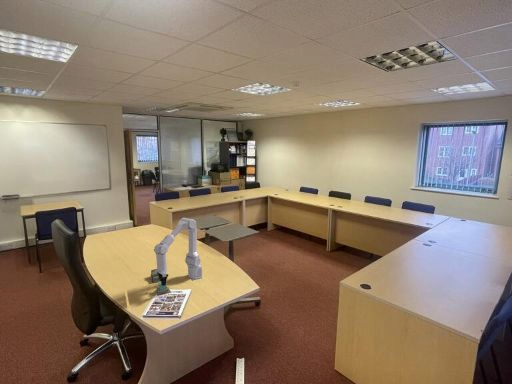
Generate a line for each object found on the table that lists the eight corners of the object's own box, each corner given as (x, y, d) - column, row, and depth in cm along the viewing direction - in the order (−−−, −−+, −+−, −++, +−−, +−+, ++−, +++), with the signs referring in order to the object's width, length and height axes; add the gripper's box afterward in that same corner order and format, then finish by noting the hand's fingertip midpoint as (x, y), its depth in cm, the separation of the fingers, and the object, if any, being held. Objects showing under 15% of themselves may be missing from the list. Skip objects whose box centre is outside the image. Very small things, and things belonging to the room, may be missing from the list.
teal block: (165, 286, 174) (165, 280, 173) (166, 288, 171) (166, 282, 170) (158, 287, 172) (158, 281, 171) (160, 290, 169) (159, 284, 168)
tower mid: (166, 288, 176) (166, 285, 175) (168, 292, 170) (168, 289, 170) (156, 290, 173) (156, 287, 172) (158, 294, 168) (158, 291, 167)
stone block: (152, 285, 182) (151, 278, 182) (149, 277, 195) (149, 270, 194) (165, 282, 186) (165, 275, 186) (162, 274, 199) (162, 267, 198)
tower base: (168, 289, 177) (168, 286, 177) (171, 295, 170) (171, 292, 170) (155, 292, 173) (155, 290, 173) (157, 298, 167) (157, 295, 166)
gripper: (153, 260, 173) (154, 280, 175) (156, 268, 161) (158, 289, 163) (164, 258, 177) (165, 277, 179) (169, 266, 164) (170, 287, 166)
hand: (162, 283), depth 171 cm, fingers open, 5 cm apart
